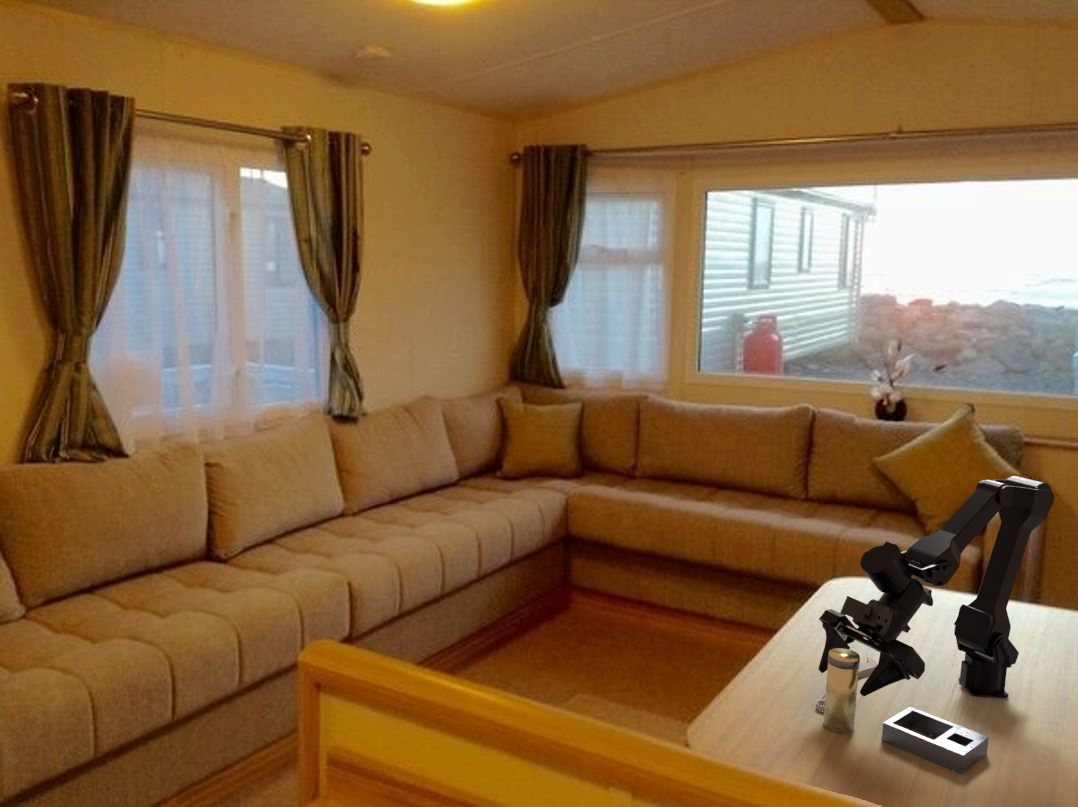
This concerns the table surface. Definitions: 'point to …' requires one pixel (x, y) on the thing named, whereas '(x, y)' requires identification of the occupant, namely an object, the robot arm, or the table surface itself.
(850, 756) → the table surface
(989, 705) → the table surface
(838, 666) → the gold tin can
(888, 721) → the grey rectangular holder
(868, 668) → the adjustable wrench
